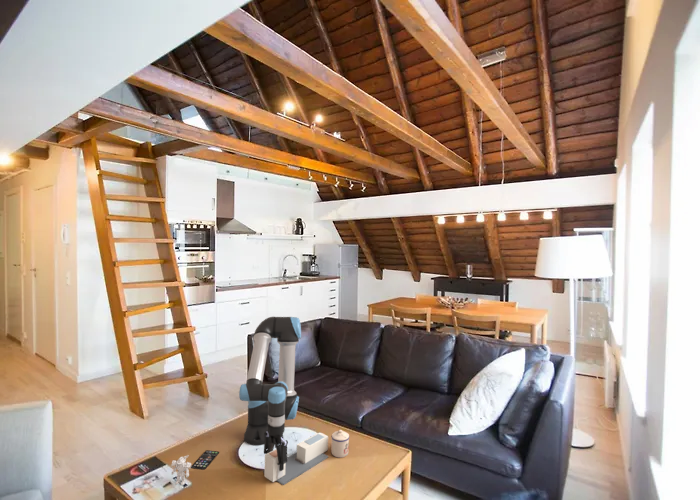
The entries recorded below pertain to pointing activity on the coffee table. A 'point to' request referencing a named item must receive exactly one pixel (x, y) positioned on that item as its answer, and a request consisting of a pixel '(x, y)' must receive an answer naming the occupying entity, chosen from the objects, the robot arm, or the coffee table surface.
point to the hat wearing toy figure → (181, 469)
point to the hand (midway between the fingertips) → (274, 473)
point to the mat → (298, 467)
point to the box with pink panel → (272, 466)
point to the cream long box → (312, 447)
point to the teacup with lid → (340, 443)
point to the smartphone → (205, 460)
